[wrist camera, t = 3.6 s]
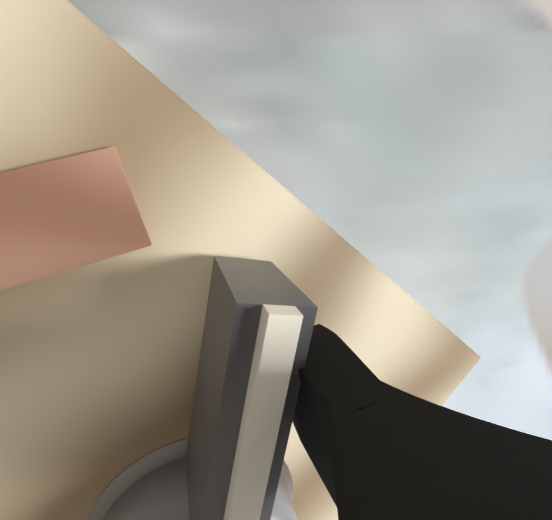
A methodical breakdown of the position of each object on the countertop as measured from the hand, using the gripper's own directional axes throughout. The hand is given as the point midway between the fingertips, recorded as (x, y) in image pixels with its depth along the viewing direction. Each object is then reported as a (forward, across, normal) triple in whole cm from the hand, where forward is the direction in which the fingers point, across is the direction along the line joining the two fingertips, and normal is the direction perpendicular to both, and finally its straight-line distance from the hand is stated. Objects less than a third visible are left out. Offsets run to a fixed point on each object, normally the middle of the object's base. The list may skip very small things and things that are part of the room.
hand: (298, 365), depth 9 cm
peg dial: (+1, +3, +3) cm, 4 cm away
